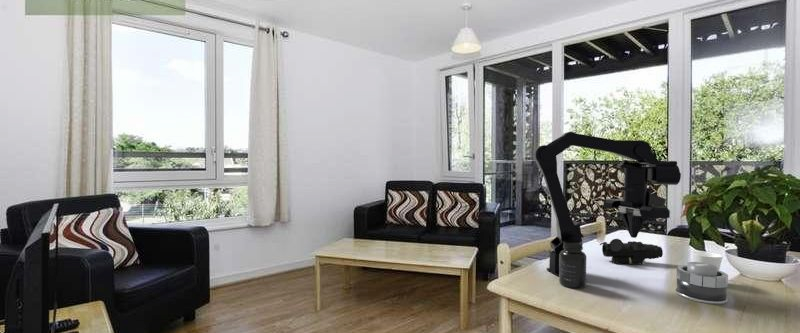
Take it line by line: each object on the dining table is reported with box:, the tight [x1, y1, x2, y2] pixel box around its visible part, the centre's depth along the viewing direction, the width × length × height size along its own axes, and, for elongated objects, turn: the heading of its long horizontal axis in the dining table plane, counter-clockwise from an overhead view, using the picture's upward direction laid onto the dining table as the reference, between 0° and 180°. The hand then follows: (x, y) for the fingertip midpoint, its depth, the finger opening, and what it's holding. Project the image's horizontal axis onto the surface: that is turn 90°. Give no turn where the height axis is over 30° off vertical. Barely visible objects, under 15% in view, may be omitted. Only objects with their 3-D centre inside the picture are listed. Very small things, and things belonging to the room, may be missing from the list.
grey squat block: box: [686, 261, 717, 276], centre depth 97 cm, size 6×6×4 cm
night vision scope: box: [599, 238, 664, 265], centre depth 126 cm, size 8×18×10 cm
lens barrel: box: [675, 264, 729, 305], centre depth 97 cm, size 10×10×6 cm
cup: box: [691, 250, 723, 271], centre depth 109 cm, size 7×10×8 cm
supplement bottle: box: [558, 240, 587, 290], centre depth 105 cm, size 7×7×12 cm
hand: (633, 237), depth 110 cm, fingers closed
